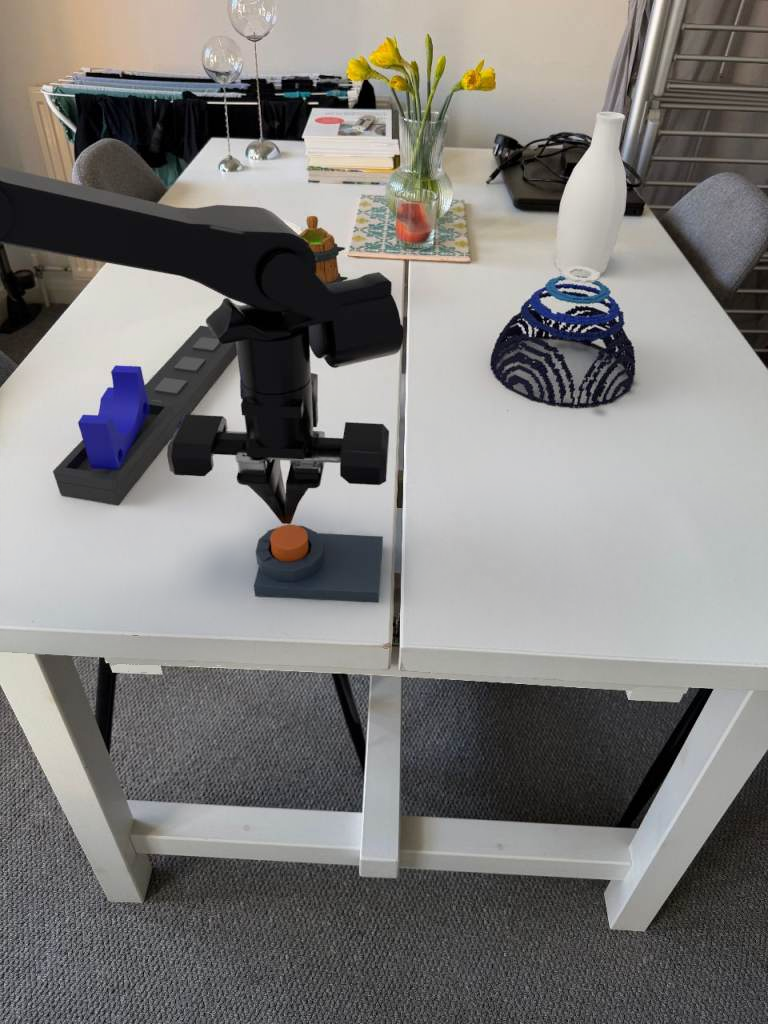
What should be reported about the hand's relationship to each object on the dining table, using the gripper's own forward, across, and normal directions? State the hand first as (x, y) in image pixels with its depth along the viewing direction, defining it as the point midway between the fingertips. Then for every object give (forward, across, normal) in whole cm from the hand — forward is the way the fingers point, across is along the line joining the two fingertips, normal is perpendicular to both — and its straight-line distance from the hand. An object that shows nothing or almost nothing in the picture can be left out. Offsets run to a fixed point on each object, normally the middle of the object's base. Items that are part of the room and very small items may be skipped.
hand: (287, 520), depth 69 cm
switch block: (+6, -3, 0) cm, 7 cm away
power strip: (+6, +20, -28) cm, 35 cm away
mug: (+7, +5, -64) cm, 65 cm away
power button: (+4, 0, 0) cm, 4 cm away
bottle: (+6, -42, -81) cm, 92 cm away
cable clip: (+3, +22, -16) cm, 28 cm away
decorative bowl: (+6, -33, -43) cm, 55 cm away
